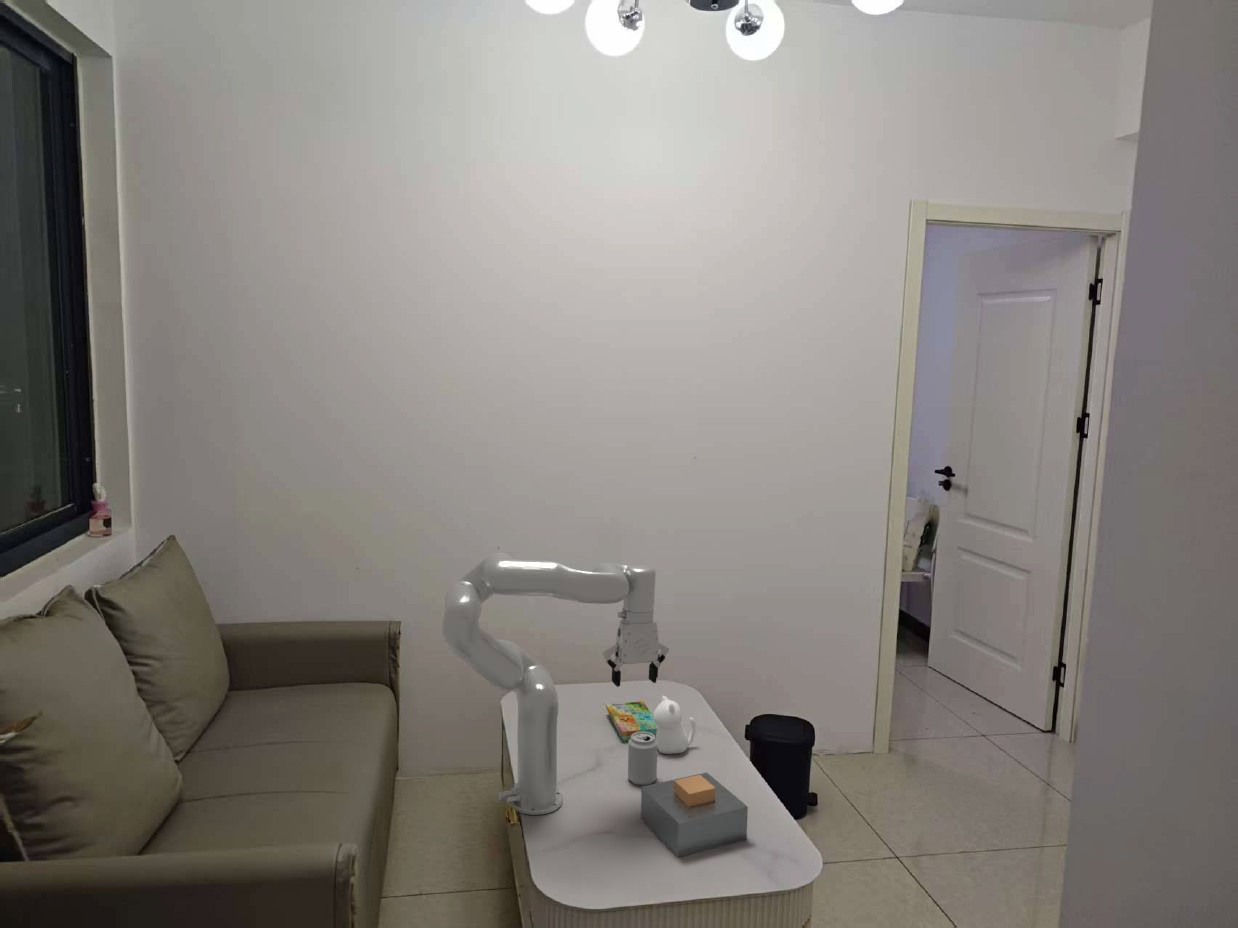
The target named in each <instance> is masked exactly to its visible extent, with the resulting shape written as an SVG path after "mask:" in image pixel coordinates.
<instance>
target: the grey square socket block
mask: <svg viewBox="0 0 1238 928" xmlns="http://www.w3.org/2000/svg"><path fill="white" fill-rule="evenodd" d="M697 775H701V776H702V777H703V778H704V779H706V780H707V781H708V782H709V783H710V784H711V785H713V786H714V787H715V788H716V791H715V800H714V801H710V802H706V803H702V804H698V805H693V806H688V805H687V804H686V803H684V802H683V801H682V800H681V799H680V798H679V797H678V796H677V795H676V794H675V793H674V780H679V779H683V778H688V777H692V776H697ZM640 792H641V793H640V794H641V796H640V819H641V820H642V822H643V823H644V824H645V825H646V826H648V828H649V829H650V830H651V831H652V832H653V833H654V834H655V835H656V837H658V839H659V840H660V841H661V842H662V843H663V844H664V845H665V846H666V847H667V849H669V850H670V851H671V853H673V854H674V856H676V857H677V859H678V858H681V857H682V858H683V857H686V856H690V855H694V854H697V853H701V852H704V851H708V850H712V849H717V848H719V847H723V846H724V847H725V846H728V845H732V844H735V843H739V842H743V841H746V840H748V839H747V837H748V836H747V835H748V834H747V833H748V814H749V808H748V807H749V806H747V805H746V804H745V803H744V802H743V801H741V799H740V798H738V796H736V795H735V794H733V793H732V792H731V791H730V790H728V789H727V788H726V787H725V786H724V785H722V784H721V782H719V781H717V779H715V777H713V776H712V775H711V774H710V773H708V772H702V773H698V774H694V775H689V776H685V777H680V778H675V779H670V780H666V781H662V782H656V783H651V784H648V785H642V786H641V791H640Z"/></svg>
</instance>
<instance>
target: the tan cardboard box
mask: <svg viewBox="0 0 1238 928" xmlns="http://www.w3.org/2000/svg"><path fill="white" fill-rule="evenodd" d="M696 775H697V774H696ZM691 776H692V777H688V776H687V777H688V778H684V777H682V778H683V779H679V778H678V779H679V780H675V779H673V780H674V793H675V794H676V795H677V796H678V797H679V798H680V799H681V800H682V801H683V802H684V803H686V804H687V805H688V806H693V805H698V804H702V803H706V802H710V801H714V800H715V791H716V788H715V787H714V786H713V785H711V784H710V783H709V782H708V781H707V780H706V779H704V778H703V777H702V776H701V775H697V776H693V775H691Z"/></svg>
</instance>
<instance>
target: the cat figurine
mask: <svg viewBox="0 0 1238 928" xmlns="http://www.w3.org/2000/svg"><path fill="white" fill-rule="evenodd" d="M660 700H661V701H660V703H658V705H656V706H657V707H656V708H655V710H654V712H653V714H652V715H653V721H654V723H655V724H656V725H657V726H658V727H659V728H658V730H657V732H656V741H657V751H659V752H660V753H661V754H664V755H674V754H681V753H684V752H685V751H687V749H688V747H689V746H691V745H692V743H693V742H694V739H695V735H696V729H697V725H696V721H695V719H694V718H693V717H692V716H691V717H690V718H689V726H690V732H689V734H688V735H689V736H688V735H687V732H686V730H685V728H684V727H683V725H682V724H681V723H682V720H683V714H682V713H683V712H682V708H681V707H680V705H679V703H677V702H676V701H674V700H671V699H669V698H668V697H667V696H665V695H661V699H660Z"/></svg>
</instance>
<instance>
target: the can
mask: <svg viewBox="0 0 1238 928" xmlns="http://www.w3.org/2000/svg"><path fill="white" fill-rule="evenodd" d="M627 753H628V755H627V757H628V758H627V759H628V760H627V762H628V763H627V769H628V770H627V778H628V780H629V781H631V783H633V784H635V785H637V786H647V785H652V784H653V782H655V781H656V780H657V777H658V775H657V772H658V771H657V770H658V769H657V768H658V749H657V741H656V739H655V736H654V735H653V734H652V733H649V732H636V733H634V734H632V735H631V739H630V740H629V741H628V752H627Z"/></svg>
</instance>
